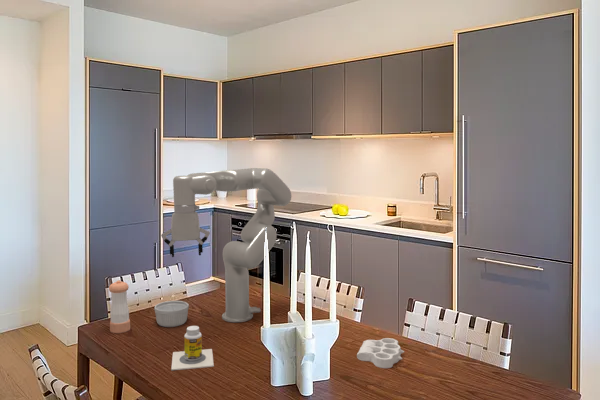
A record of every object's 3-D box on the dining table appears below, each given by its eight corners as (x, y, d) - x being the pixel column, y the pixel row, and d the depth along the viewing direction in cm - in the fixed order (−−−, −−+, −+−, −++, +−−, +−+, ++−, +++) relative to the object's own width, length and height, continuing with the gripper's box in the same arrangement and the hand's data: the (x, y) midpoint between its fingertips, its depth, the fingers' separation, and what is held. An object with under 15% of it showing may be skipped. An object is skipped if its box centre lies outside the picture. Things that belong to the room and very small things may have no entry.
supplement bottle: (187, 363, 153) (187, 332, 152) (182, 356, 158) (181, 326, 157) (204, 359, 156) (204, 329, 155) (198, 352, 161) (198, 323, 160)
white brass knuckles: (365, 344, 171) (406, 349, 167) (354, 365, 154) (400, 371, 150) (365, 334, 171) (407, 340, 166) (354, 354, 154) (400, 361, 149)
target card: (212, 350, 165) (212, 348, 164) (213, 366, 152) (213, 365, 152) (172, 353, 162) (172, 351, 162) (171, 370, 149) (171, 368, 149)
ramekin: (196, 320, 193) (195, 304, 192) (171, 331, 182) (170, 313, 181) (173, 314, 200) (172, 298, 199) (147, 324, 189) (147, 307, 188)
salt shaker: (134, 327, 185) (132, 279, 183) (121, 334, 178) (119, 284, 176) (118, 325, 188) (117, 277, 186) (105, 331, 181) (103, 282, 179)
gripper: (208, 207, 180) (209, 251, 182) (160, 209, 176) (162, 254, 178) (209, 209, 173) (210, 256, 175) (159, 211, 169) (161, 259, 171)
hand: (186, 255), depth 177 cm, fingers open, 9 cm apart
